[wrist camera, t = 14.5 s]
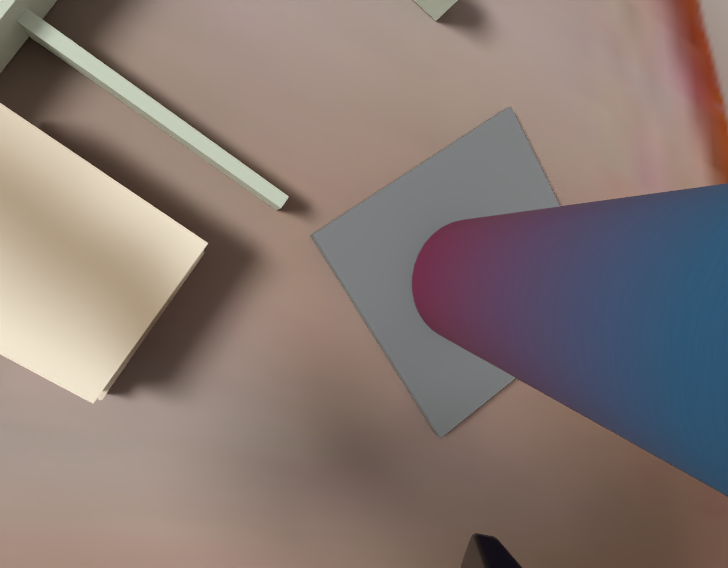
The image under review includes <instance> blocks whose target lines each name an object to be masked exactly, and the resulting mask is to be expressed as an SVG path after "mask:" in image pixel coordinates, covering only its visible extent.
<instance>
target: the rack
mask: <svg viewBox="0 0 728 568" xmlns="http://www.w3.org/2000/svg"><path fill="white" fill-rule="evenodd" d="M56 1H57V0H0V73H1V72H2V71H3V69H4V68H5V67H6V66H7V64H8V63H9V62H10V60H11V59H12V58H13V57H14V55H15V54H16V53H17V51H18V50H19V49H20V48H21V46H22V45H23V44H24V42H25V41H26V40H27V39H28V37H30V38H32V39H33V40H35V41H36V42H37V43H39V44H40V45H42V46H43V47H45V48H46V49H47V50H49V51H50V52H52V53H53V54H55V55H56V56H57V57H59V58H60V59H62V60H63V61H64V62H66V63H67V64H69V65H70V66H72V67H73V68H74V69H76V70H77V71H79V72H80V73H82V74H83V75H84V76H86V77H87V78H89V79H90V80H91V81H93V82H94V83H96V84H97V85H99V86H100V87H101V88H103V89H104V90H106V91H107V92H109V93H110V94H111V95H113V96H114V97H116V98H117V99H118V100H120V101H121V102H123V103H124V104H126V105H127V106H128V107H130V108H131V109H133V110H134V111H136V112H137V113H138V114H140V115H141V116H143V117H144V118H145V119H147V120H148V121H150V122H151V123H153V124H154V125H155V126H157V127H158V128H160V129H161V130H163V131H164V132H165V133H167V134H168V135H170V136H171V137H172V138H174V139H175V140H177V141H178V142H180V143H181V144H182V145H184V146H185V147H187V148H188V149H190V150H191V151H192V152H194V153H195V154H197V155H198V156H199V157H201V158H202V159H204V160H205V161H207V162H208V163H209V164H211V165H212V166H214V167H215V168H217V169H218V170H219V171H221V172H222V173H224V174H225V175H226V176H228V177H229V178H231V179H232V180H234V181H235V182H236V183H238V184H239V185H241V186H242V187H244V188H245V189H246V190H248V191H249V192H251V193H252V194H253V195H255V196H256V197H258V198H259V199H261V200H262V201H263V202H265V203H266V204H268V205H269V206H271V207H272V208H273V209H275V210H278V209H281V208H282V206H283V205H284V203H285V202H286V200H287V199H288V197H289V196H287V195H286V194H285V193H283V192H282V191H280V190H279V189H278V188H276V187H275V186H273V185H272V184H271V183H269V182H268V181H266V180H265V179H264V178H262V177H261V176H259V175H258V174H257V173H255V172H254V171H253V170H251V169H250V168H248V167H247V166H246V165H244V164H243V163H241V162H240V161H239V160H237V159H236V158H234V157H233V156H232V155H230V154H229V153H228V152H226V151H225V150H223V149H222V148H221V147H219V146H218V145H216V144H215V143H214V142H212V141H211V140H209V139H208V138H207V137H205V136H204V135H202V134H201V133H200V132H198V131H197V130H196V129H194V128H193V127H191V126H190V125H189V124H187V123H186V122H184V121H183V120H182V119H180V118H179V117H177V116H176V115H175V114H173V113H172V112H171V111H169V110H168V109H166V108H165V107H164V106H162V105H161V104H159V103H158V102H157V101H155V100H154V99H152V98H151V97H150V96H148V95H147V94H145V93H144V92H143V91H141V90H140V89H139V88H137V87H136V86H134V85H133V84H132V83H130V82H129V81H127V80H126V79H125V78H123V77H122V76H120V75H119V74H118V73H116V72H115V71H113V70H112V69H111V68H109V67H108V66H107V65H105V64H104V63H102V62H101V61H100V60H98V59H97V58H95V57H94V56H93V55H91V54H90V53H88V52H87V51H86V50H84V49H83V48H82V47H80V46H79V45H77V44H76V43H75V42H73V41H72V40H70V39H69V38H68V37H66V36H65V35H63V34H62V33H61V32H59V31H58V30H56V29H55V28H54V27H52V26H51V25H50V24H48V23H47V22H45V21H44V20H43V18H44V17H45V16H46V14H47V13H48V12H49V10H50V9H51V8H52V7H53V5H54V4H55V3H56ZM414 1H415V2H416V3H417V4H418V5H419V6H420V7H421V8H422V9H423V10H424V11H425V12H426V13H428V14H429V15H430V16H431V17H432V18H433V19H434V20H435V21H436V20H437V19H438V18H440V17H441V16H442V15H443V14H444V13H445V12H446V11H447V10H448V9H449V8H450V7H451V6H452V5H453V4H454V3H456V2H457V1H458V0H414Z"/></svg>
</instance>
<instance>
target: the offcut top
mask: <svg viewBox="0 0 728 568" xmlns="http://www.w3.org/2000/svg"><path fill="white" fill-rule="evenodd" d="M207 244H208V243H207V242H206V241H204V240H203V239H201V238H200V237H198V236H197V235H195V234H194V233H192V232H191V231H189V230H188V229H186V228H185V227H183V226H182V225H180V224H179V223H177V222H176V221H174V220H173V219H171V218H170V217H169V216H167V215H166V214H164V213H163V212H161V211H160V210H158V209H157V208H155V207H154V206H152V205H151V204H149V203H148V202H146V201H145V200H143V199H142V198H140V197H139V196H137V195H136V194H134V193H133V192H131V191H130V190H129V189H127V188H126V187H124V186H123V185H121V184H120V183H118V182H117V181H115V180H114V179H112V178H111V177H109V176H108V175H106V174H105V173H103V172H102V171H100V170H99V169H97V168H96V167H94V166H93V165H91V164H90V163H88V162H87V161H86V160H84V159H83V158H81V157H80V156H78V155H77V154H75V153H74V152H72V151H71V150H69V149H68V148H66V147H65V146H63V145H62V144H60V143H59V142H57V141H56V140H54V139H53V138H51V137H50V136H48V135H47V134H45V133H44V132H43V131H41V130H40V129H38V128H37V127H35V126H34V125H32V124H31V123H29V122H28V121H26V120H25V119H23V118H22V117H20V116H19V115H17V114H16V113H14V112H13V111H11V110H10V109H8V108H7V107H5V106H4V105H2V104H1V103H0V354H1V355H3V356H4V357H6V358H8V359H10V360H12V361H14V362H16V363H18V364H19V365H21V366H23V367H25V368H27V369H29V370H31V371H33V372H34V373H36V374H38V375H40V376H42V377H44V378H46V379H48V380H50V381H51V382H53V383H55V384H57V385H59V386H61V387H63V388H65V389H66V390H68V391H70V392H72V393H74V394H76V395H78V396H80V397H81V398H83V399H85V400H87V401H89V402H91V403H94V402H95V400H96V399H97V397H98V396H99V395H100V393H101V392H102V390H103V389H104V388H105V386H106V385H107V383H108V382H109V381H110V379H111V378H112V376H113V375H114V374H115V372H116V371H117V370H118V368H119V367H120V365H121V364H122V363H123V361H124V360H125V358H126V357H127V356H128V354H129V353H130V351H131V350H132V349H133V347H134V346H135V344H136V343H137V342H138V340H139V339H140V337H141V336H142V335H143V333H144V332H145V331H146V329H147V328H148V326H149V325H150V324H151V322H152V321H153V319H154V318H155V317H156V315H157V314H158V312H159V311H160V310H161V308H162V307H163V305H164V304H165V303H166V301H167V300H168V298H169V297H170V296H171V294H172V293H173V292H174V290H175V289H176V287H177V286H178V285H179V283H180V282H181V280H182V279H183V278H184V276H185V275H186V273H187V272H188V271H189V269H190V268H191V266H192V265H193V264H194V262H195V261H196V259H197V258H198V257H199V255H200V254H201V253H202V251H203V250H204V248H205V247H206V246H207Z"/></svg>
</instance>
